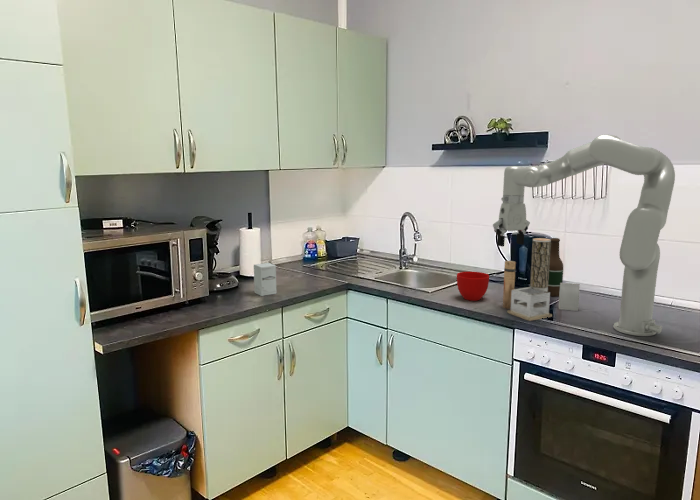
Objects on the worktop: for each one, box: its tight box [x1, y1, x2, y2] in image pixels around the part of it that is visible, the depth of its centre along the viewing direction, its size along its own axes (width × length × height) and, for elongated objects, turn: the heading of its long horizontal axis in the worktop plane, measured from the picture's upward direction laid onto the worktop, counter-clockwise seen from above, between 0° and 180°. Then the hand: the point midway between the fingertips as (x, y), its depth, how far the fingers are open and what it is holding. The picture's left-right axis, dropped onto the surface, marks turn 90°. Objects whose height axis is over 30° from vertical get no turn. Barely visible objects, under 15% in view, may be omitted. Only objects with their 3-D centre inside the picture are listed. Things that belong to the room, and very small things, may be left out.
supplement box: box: [253, 262, 278, 297], centre depth 222 cm, size 7×7×13 cm
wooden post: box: [502, 260, 517, 310], centre depth 199 cm, size 4×4×18 cm
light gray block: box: [558, 282, 581, 312], centre depth 198 cm, size 4×7×10 cm, turn 71°
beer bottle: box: [548, 237, 564, 298], centre depth 217 cm, size 8×8×24 cm
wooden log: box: [529, 237, 552, 292], centre depth 208 cm, size 7×7×25 cm
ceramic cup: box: [456, 271, 490, 302], centre depth 214 cm, size 13×17×10 cm
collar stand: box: [506, 286, 553, 322], centre depth 190 cm, size 11×11×9 cm
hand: (510, 245), depth 196 cm, fingers open, 9 cm apart
